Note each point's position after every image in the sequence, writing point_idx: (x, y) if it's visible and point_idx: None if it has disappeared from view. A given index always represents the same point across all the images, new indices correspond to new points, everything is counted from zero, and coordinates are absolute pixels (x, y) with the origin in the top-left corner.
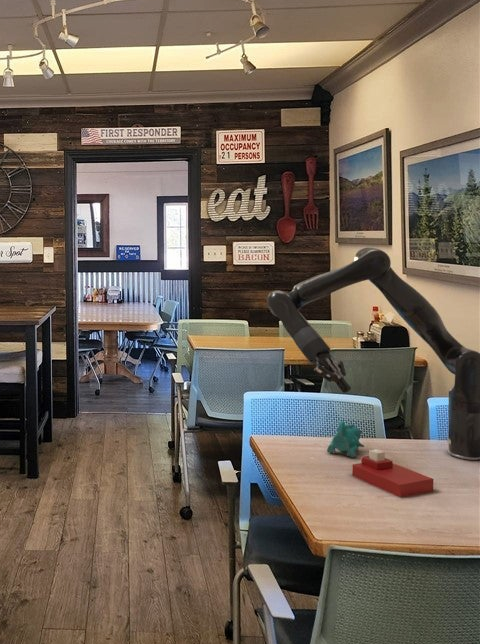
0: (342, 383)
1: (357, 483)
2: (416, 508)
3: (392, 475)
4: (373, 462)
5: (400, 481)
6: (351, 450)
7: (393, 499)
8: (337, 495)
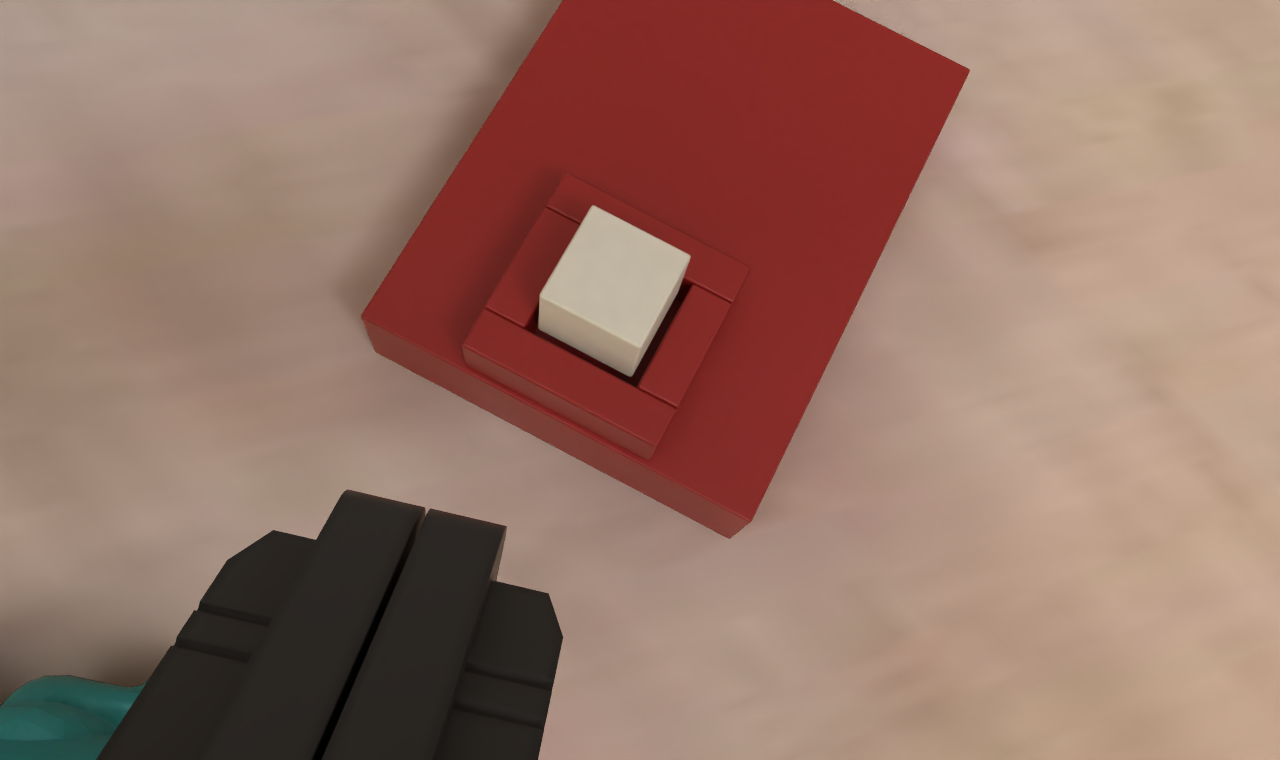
0: (471, 734)
1: (882, 446)
2: (1050, 3)
3: (793, 156)
4: (728, 311)
5: (890, 80)
6: None
7: (1008, 148)
8: (1262, 491)
